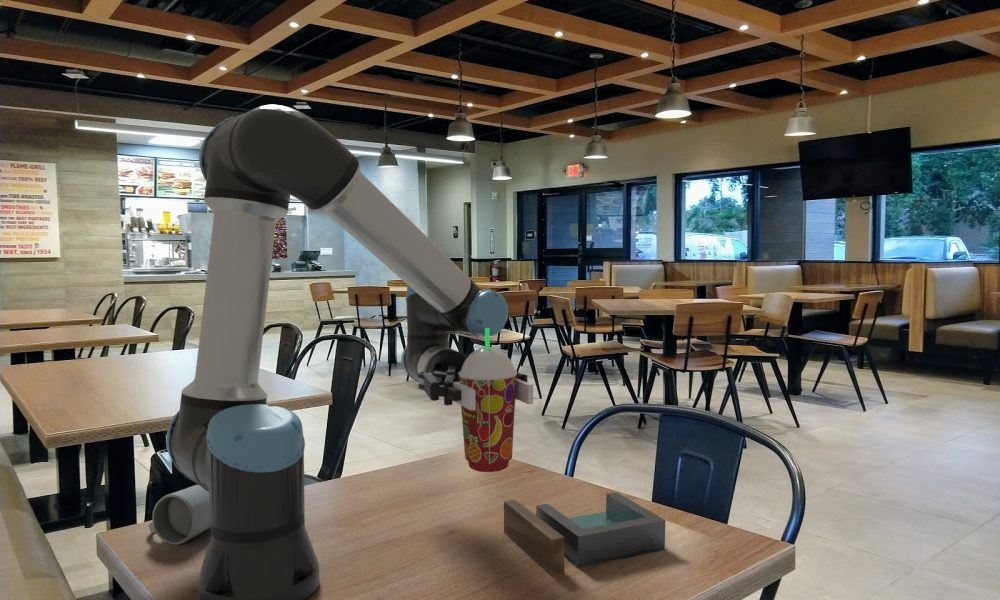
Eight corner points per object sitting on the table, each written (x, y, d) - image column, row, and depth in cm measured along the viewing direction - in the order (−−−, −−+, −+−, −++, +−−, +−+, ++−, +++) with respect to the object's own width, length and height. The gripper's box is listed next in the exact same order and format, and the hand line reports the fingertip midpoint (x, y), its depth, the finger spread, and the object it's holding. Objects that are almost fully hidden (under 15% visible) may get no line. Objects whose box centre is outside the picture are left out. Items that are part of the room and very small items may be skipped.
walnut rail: (551, 575, 93) (551, 539, 93) (503, 532, 107) (503, 501, 107) (564, 572, 94) (564, 537, 93) (515, 529, 108) (515, 499, 108)
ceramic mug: (228, 526, 110) (226, 480, 109) (194, 547, 102) (191, 497, 101) (172, 521, 112) (170, 476, 112) (135, 541, 104) (132, 492, 104)
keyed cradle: (578, 567, 95) (578, 536, 95) (530, 528, 109) (530, 501, 109) (664, 549, 101) (665, 519, 101) (609, 514, 115) (609, 488, 115)
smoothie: (455, 459, 101) (453, 326, 99) (510, 455, 102) (509, 324, 101) (464, 478, 92) (462, 332, 91) (523, 473, 94) (522, 330, 93)
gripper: (503, 388, 118) (568, 416, 97) (385, 399, 109) (429, 432, 88) (502, 345, 117) (568, 364, 96) (384, 352, 109) (429, 375, 88)
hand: (502, 397), depth 92 cm, fingers closed on smoothie, 8 cm apart
